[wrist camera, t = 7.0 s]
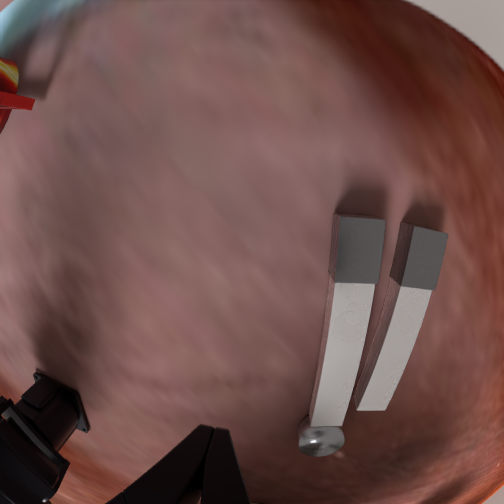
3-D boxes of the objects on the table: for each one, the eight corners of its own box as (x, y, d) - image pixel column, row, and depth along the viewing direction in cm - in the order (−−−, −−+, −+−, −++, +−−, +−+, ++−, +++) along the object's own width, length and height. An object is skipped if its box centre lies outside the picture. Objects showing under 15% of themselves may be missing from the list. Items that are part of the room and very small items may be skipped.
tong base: (380, 396, 20) (387, 411, 18) (351, 395, 20) (356, 412, 18) (433, 228, 16) (448, 233, 15) (400, 221, 17) (414, 226, 15)
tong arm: (336, 439, 21) (339, 455, 19) (295, 439, 21) (296, 456, 19) (381, 216, 16) (393, 220, 14) (324, 212, 17) (330, 216, 15)
